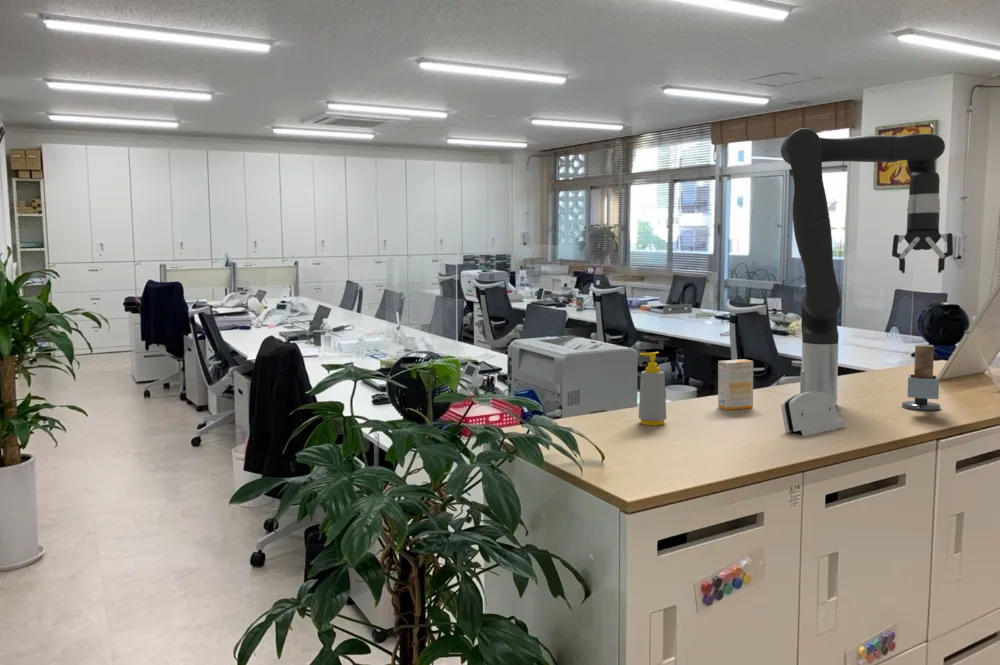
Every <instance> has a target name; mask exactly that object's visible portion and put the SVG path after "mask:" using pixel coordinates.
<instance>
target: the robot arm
mask: <svg viewBox="0 0 1000 665" xmlns="http://www.w3.org/2000/svg"><path fill="white" fill-rule="evenodd" d="M945 149H946V144H945V141H944V140H943V138H942V137H941V136H939V135H937V134H934V133H918V134H907V135H895V134H893V135H891V134H888V135H887V134H886V135H885V134H882V135H881V134H880V135H879V134H877V135H876V134H874V135H873V134H872V135H861V136H860V135H859V136H851V137H839V138H838V137H837V138H836V137H835V138H831V137H830V138H828V137H820V135H818V133H817V132H816V131H814V130H813V129H810V128H807V127H803V128H799V129H796V130H795V131H793V132H791V133H790V134H789V135H788V136H787V137H786V138H785V139H784V141H783V142H782V144H781V146H780V154H781V155H780V156H781V158H782V159H783V161H784V162H785V163H787V164H788V165H790V167H791V174H792V180H793V196H792V197H793V198H792V210H791V211H792V212H791V213H792V214H791V215H792V224H793V233H794V237H795V238H794V239H795V241H796V247H797V250H798V253H799V256H800V258H801V261H802V262H801V263H802V265H803V269H804V276H805V277H804V278H805V291H804V292H803V294H802V298H801V315H800V316H801V317H800V318H801V320H800V321H801V324H800V325H801V338H802V339H801V340H802V342H801V370H800V382H799V383H800V385H799V386H800V388H799V394H801V393H805V392H823V393H827V394H830V395H831V396H832V399H833V401H834V404H835V406H837V404H838V378H839V377H838V371H839V370H838V368H839V340H840V338H839V336H840V335H839V330H838V312H839V310H840V308H841V305H842V297H841V293H840V289H839V286H838V282H837V278H836V273H835V267H834V257H833V256H834V255H833V254H834V253H833V252H834V251H833V238H832V236H833V235H832V228H831V226H832V225H831V220H830V218H831V217H830V212H829V206H828V201H827V195H826V191H825V186H824V179H823V165H822V164H823V163H828V162H829V163H830V162H852V163H853V162H857V163H859V162H860V163H895V162H900V161H906V163H907V168H908V176H909V189H908V191H909V192H908V201H907V208H906V209H907V210H906V212H907V213H906V214H907V215H906V217H907V218H906V233H905V234H903V235H902V234H894V235H893V241H892V251H891V256H892V257H894V258H897V259H898V260H899V262H898V263H899V264H898V266H899V267H898V270H899V271H901V274H905V273H906V272H905V271H906V258H905V257H906V256H907V255H908V254H909V253H910V252H911V251H912V250H913V251H921V250H923V251H924V250H925V251H930V250H933V251H934V253H936V254H937V256H938V257H939V258H938V263H937V265H938V266H937V273H938V274H939V273H940V274H941V273H942V271H944V270H945V266H946V265H945V262H946V261H945V260H946V258H949V257H952V256H953V255H954V241H953V240H954V239H953V234H952V233H951V232H949V233H944V234H941V233H940V214H941V213H940V212H941V207H940V206H941V205H940V204H941V200H940V199H941V198H940V184H941V183H940V179H941V178H940V174H939V173H938V172H937V171H936V160H937V159H939V158H940V157H941V156H942V155H943V154H944V151H945ZM941 239H942V240H943V242H945V243H946V252H943V251H942V250H941V249H940V247H939V246H938V245H937V244H938V242H939V241H940V240H941ZM903 240H905V241H906V243H907V244H908V246H906V248H905V249H904V250H903V251H902V252H901V253H898V250H899V249H898V247H899V244H900V243H902V241H903Z"/></svg>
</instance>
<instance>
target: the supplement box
mask: <svg viewBox="0 0 1000 665" xmlns="http://www.w3.org/2000/svg"><path fill="white" fill-rule="evenodd" d="M717 367H718V368H717V369H718V370H717V372H718V373H717V374H718V375H717V376H718V377H717V378H718V379H717V381H718V382H717V384H718V385H717V391H718V392H717V394H718V395H717V399H718V400H717V401H718V402H717V403H718V404H717V407H718V408H720V409H723V410H726V411H730V410H741V409H743V410H744V409H753V407H754V360H749V359H745V358H744V359H743V358H742V359H741V358H740V359H729V360H726V359H725V360H718V363H717Z"/></svg>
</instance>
